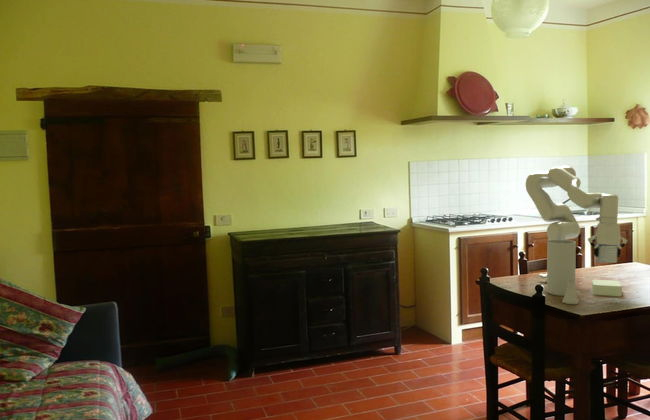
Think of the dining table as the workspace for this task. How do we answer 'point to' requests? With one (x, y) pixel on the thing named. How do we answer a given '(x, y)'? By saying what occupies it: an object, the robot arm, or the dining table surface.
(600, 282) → the sage block
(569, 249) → the cylinder vase
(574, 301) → the flask
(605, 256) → the medicine box
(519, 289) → the dining table surface
